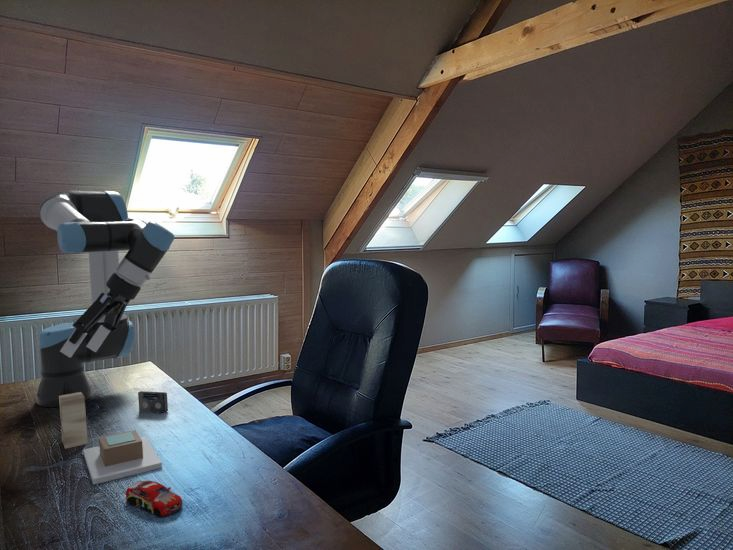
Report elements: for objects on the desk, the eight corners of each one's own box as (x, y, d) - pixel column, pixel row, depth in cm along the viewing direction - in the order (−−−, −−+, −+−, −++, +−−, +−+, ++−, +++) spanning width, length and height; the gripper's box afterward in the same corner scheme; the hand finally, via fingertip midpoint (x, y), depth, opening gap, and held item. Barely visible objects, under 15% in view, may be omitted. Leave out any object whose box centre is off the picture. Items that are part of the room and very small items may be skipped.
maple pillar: (62, 442, 138) (58, 395, 137) (84, 437, 141) (81, 391, 140) (65, 448, 134) (61, 401, 133) (87, 443, 137) (84, 397, 136)
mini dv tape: (168, 412, 159) (166, 391, 158) (165, 413, 157) (164, 393, 157) (142, 410, 160) (141, 390, 160) (139, 412, 159) (138, 392, 158)
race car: (188, 509, 106) (187, 489, 106) (163, 522, 101) (162, 502, 101) (146, 490, 113) (145, 472, 113) (122, 502, 109) (121, 483, 108)
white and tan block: (83, 454, 131) (81, 432, 130) (145, 440, 138) (144, 420, 138) (93, 484, 116) (91, 460, 115) (162, 467, 123) (160, 444, 123)
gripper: (121, 286, 124) (67, 365, 122) (157, 288, 149) (112, 354, 147) (93, 268, 124) (38, 347, 122) (133, 273, 148) (88, 339, 147)
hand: (78, 351), depth 135 cm, fingers open, 13 cm apart
